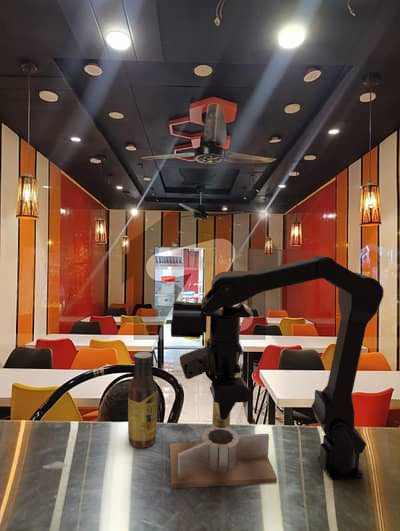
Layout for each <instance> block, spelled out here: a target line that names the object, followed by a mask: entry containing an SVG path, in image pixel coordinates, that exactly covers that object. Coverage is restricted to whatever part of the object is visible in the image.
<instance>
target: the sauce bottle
mask: <svg viewBox="0 0 400 531" xmlns="http://www.w3.org/2000/svg"><path fill="white" fill-rule="evenodd" d="M153 360H154V359H153V354H152V353H151V352H148V351H139V352H136V353H134V354H133V363H134V370H133V371H134V372H133V374H134V375H133V377H132V378H131V380H130V382H129V384H128V385H129V386H128V397H127V398H128V399H127V402H128V405H127V406H128V407H127V415H128V416H127V420H128V421H127V422H128V423H127V424H128V425H127V430H128V431H127V434H128V442H129V444H130V445H131V446H132V447H134V448H138V449H139V448H140V449H143V448H147V447H150V446H151V445H154V443H155V442H156V438H157V431H158V430H157V424H158V421H157V420H158V416H157V415H158V414H157V413H158V387H157V385H156V381H155V379H154V378H155V377H154V376H153V371H152V370H153V369H152V368H153V367H152V364H153V363H152V362H153Z"/></svg>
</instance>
